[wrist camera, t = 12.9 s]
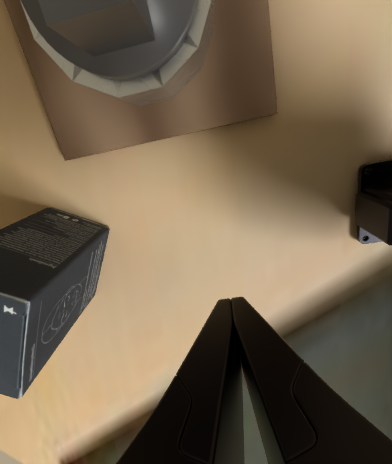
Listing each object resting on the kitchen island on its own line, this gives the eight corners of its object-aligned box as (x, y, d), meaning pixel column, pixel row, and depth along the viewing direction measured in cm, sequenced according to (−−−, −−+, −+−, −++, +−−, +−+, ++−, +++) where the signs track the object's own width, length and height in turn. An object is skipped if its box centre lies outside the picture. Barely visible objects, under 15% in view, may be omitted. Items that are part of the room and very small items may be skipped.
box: (48, 205, 21) (-89, 266, 12) (111, 226, 22) (31, 302, 12) (39, 278, 24) (-77, 377, 14) (95, 296, 25) (20, 403, 15)
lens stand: (249, -176, 13) (252, -195, 12) (274, 114, 18) (277, 113, 17) (-18, -78, 15) (-30, -89, 14) (70, 159, 20) (65, 160, 19)
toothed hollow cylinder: (194, -104, 14) (188, -210, 9) (222, 86, 17) (227, 70, 13) (41, -52, 15) (-26, -126, 10) (95, 117, 18) (60, 112, 14)
